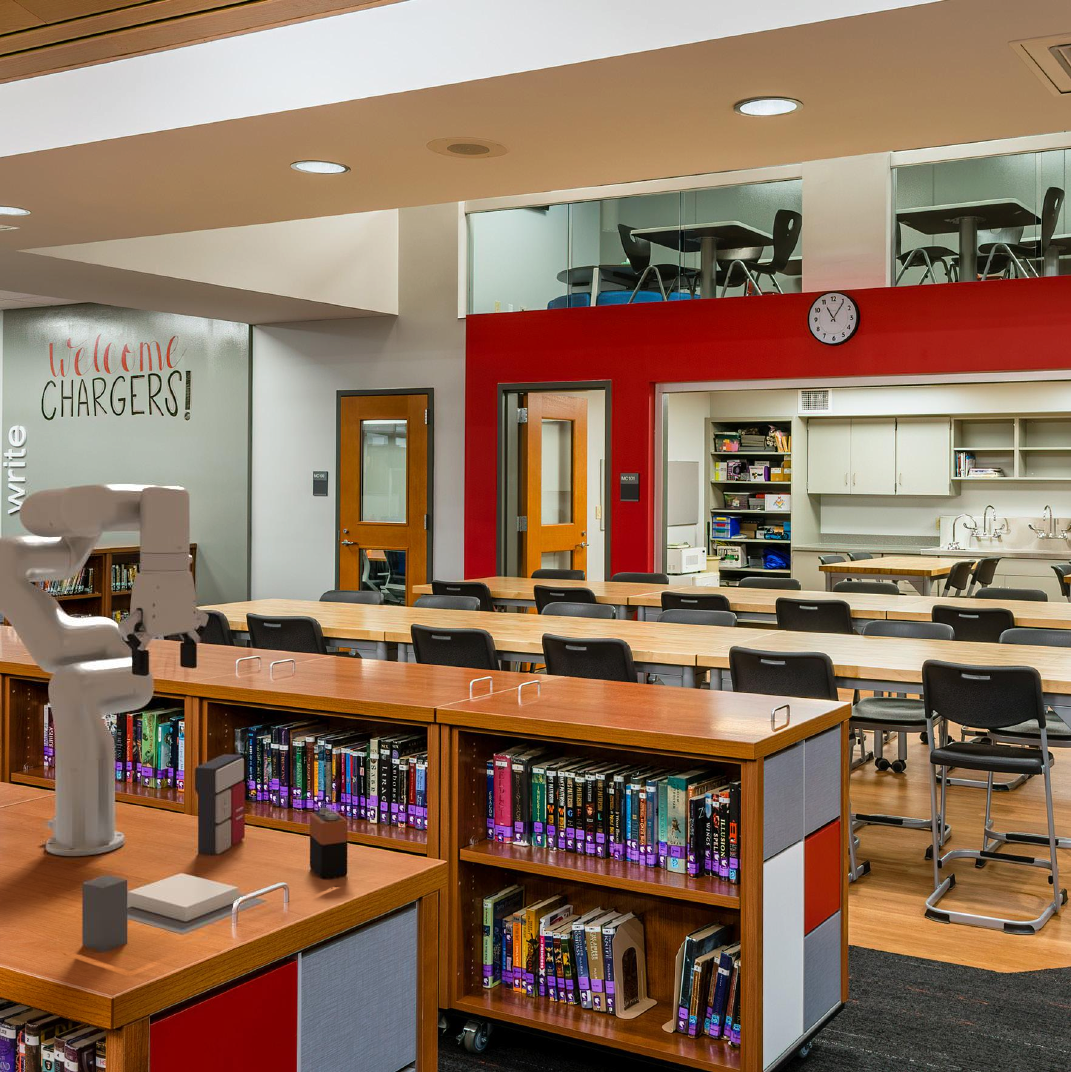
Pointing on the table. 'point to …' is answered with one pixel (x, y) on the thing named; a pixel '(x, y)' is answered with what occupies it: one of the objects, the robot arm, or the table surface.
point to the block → (104, 913)
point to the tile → (183, 897)
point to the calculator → (220, 803)
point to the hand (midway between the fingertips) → (164, 671)
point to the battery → (328, 844)
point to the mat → (183, 926)
